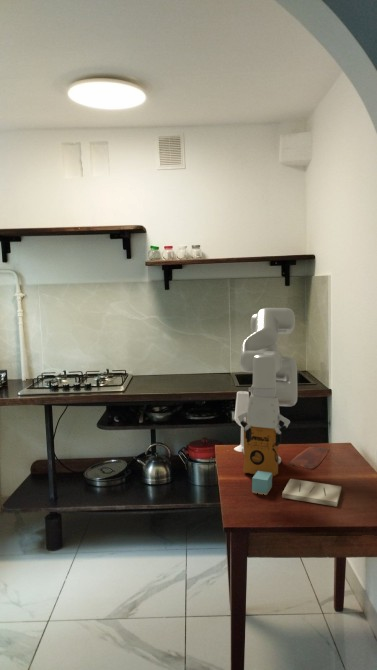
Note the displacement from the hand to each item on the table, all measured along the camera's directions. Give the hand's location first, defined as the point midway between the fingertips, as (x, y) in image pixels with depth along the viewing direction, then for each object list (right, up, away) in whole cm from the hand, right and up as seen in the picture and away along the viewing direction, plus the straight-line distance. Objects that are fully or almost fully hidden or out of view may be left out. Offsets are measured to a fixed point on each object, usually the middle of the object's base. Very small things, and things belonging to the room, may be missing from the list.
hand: (263, 442), depth 167 cm
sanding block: (0, -16, +2) cm, 16 cm away
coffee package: (+2, -15, +16) cm, 22 cm away
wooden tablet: (+24, -14, +34) cm, 44 cm away
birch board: (+16, -16, -2) cm, 23 cm away
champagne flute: (-2, -12, +43) cm, 44 cm away
